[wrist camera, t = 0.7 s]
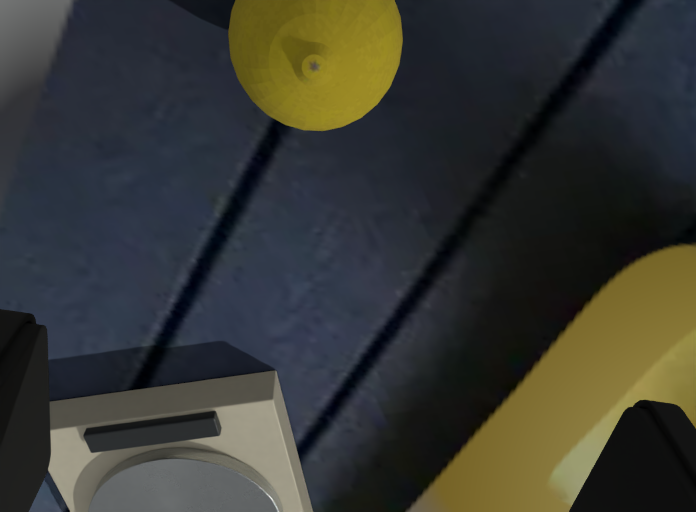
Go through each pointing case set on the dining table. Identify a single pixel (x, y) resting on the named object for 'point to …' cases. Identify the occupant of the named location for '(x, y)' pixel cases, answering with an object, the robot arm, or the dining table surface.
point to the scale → (179, 449)
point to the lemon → (315, 57)
